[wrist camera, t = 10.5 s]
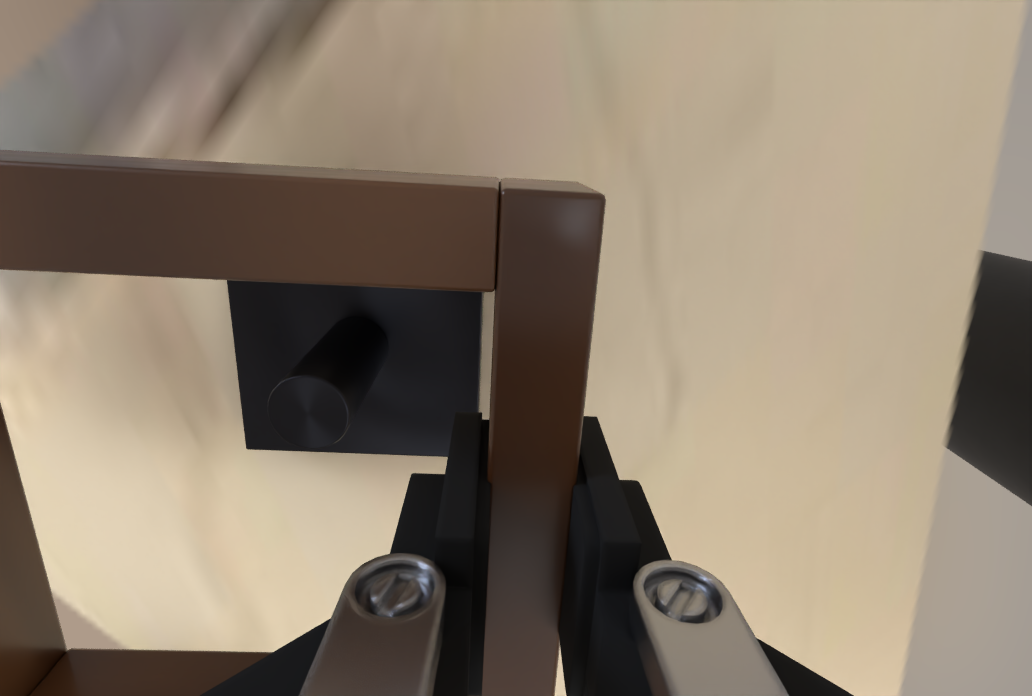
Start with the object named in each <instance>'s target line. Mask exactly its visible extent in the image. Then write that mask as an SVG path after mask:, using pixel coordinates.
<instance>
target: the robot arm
mask: <svg viewBox="0 0 1032 696" xmlns="http://www.w3.org/2000/svg"><path fill="white" fill-rule="evenodd" d="M488 443H489V420H482V413H480V412H455V418H454V424H453V430H452V436H451V442H450V448H449V454H448V460H447V466H446V472H445V474H417V473H413V474H412V475H411V477H410V481H409V484H408V488H407V492H406V496H405V499H404V503H403V507H402V511H401V514H400V518H399V522H398V526H397V529H396V533H395V537H394V540H393V544H392V548H391V552H390V554H388V555H384V556H380V557H376V558H374V559H372V560H370V561H368V562H366V563H364V564H362V565H361V566H360V567H359V568H358V569H357V570H355V571H354V572H353V573H352V574H351V576H350V578H349V579H348V581H347V582H346V584H345V586H344V589H343V591H342V593H341V596H340V598H339V601H338V603H337V605H336V608H335V610H334V613H333V615H332V617H331V619H329V620H327V621H326V622H324V623H322V624H320V625H319V626H317V627H315V628H314V629H312V630H310V631H309V632H307V633H305V634H303V635H302V636H300V637H298V638H297V639H295V640H293V641H292V642H290V643H288V644H286V645H285V646H283V647H281V648H280V649H278V650H276V651H275V652H273V653H271V654H269V655H268V656H266V657H264V658H263V659H261V660H259V661H258V662H256V663H254V664H252V665H251V666H249V667H247V668H246V669H244V670H242V671H241V672H239V673H237V674H235V675H234V676H232V677H230V678H229V679H227V680H225V681H223V682H222V683H220V684H218V685H217V686H215V687H213V688H212V689H210V690H208V691H206V692H205V693H203V694H201V695H200V696H482V683H483V662H484V640H485V618H486V597H487V575H488V553H489V525H490V487H491V483H489V482H488V481H487V468H488ZM559 639H560V647H561V656H562V664H563V672H564V681H565V689H566V695H567V696H853V695H852V694H850V693H848V692H847V691H845V690H843V689H842V688H840V687H838V686H837V685H835V684H833V683H832V682H830V681H828V680H827V679H825V678H823V677H821V676H820V675H818V674H816V673H815V672H813V671H811V670H810V669H808V668H806V667H805V666H803V665H801V664H800V663H798V662H796V661H795V660H793V659H791V658H789V657H788V656H786V655H784V654H783V653H781V652H779V651H778V650H776V649H774V648H773V647H771V646H769V645H768V644H766V643H764V642H763V641H761V640H759V639H757V638H756V637H755V635H754V634H753V632H752V630H751V628H750V627H749V625H748V623H747V622H746V620H745V618H744V616H743V615H742V613H741V611H740V609H739V608H738V606H737V604H736V602H735V601H734V599H733V597H732V595H731V594H730V592H729V591H728V590H727V588H726V587H725V586H724V585H723V583H722V582H721V581H720V580H718V579H717V578H716V577H715V576H713V575H712V574H711V573H709V572H707V571H705V570H703V569H701V568H700V567H698V566H695V565H692V564H689V563H685V562H682V561H673V560H671V557H670V555H669V553H668V550H667V548H666V545H665V543H664V540H663V538H662V536H661V533H660V531H659V528H658V526H657V523H656V521H655V519H654V516H653V514H652V511H651V509H650V506H649V504H648V502H647V499H646V497H645V494H644V492H643V489H642V487H641V485H640V483H639V482H638V481H634V480H619V478H618V475H617V472H616V469H615V466H614V463H613V461H612V458H611V455H610V452H609V449H608V447H607V444H606V441H605V438H604V435H603V432H602V430H601V427H600V424H599V421H598V419H597V417H589V416H583V426H582V435H581V445H580V455H579V464H578V474H577V483H576V485H574V488H573V498H572V508H571V518H570V528H569V538H568V547H567V557H566V567H565V577H564V587H563V597H562V606H561V616H560V626H559Z"/></svg>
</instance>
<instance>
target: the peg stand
mask: <svg viewBox="0 0 1032 696" xmlns="http://www.w3.org/2000/svg"><path fill="white" fill-rule="evenodd" d="M227 285H228V294H229V302H230V311H231V320H232V328H233V337H234V345H235V354H236V363H237V371H238V380H239V389H240V397H241V406H242V415H243V423H244V432H245V441H246V448H247V449H255V450H282V451H308V452H335V453H361V454H388V455H415V456H441V457H448V454H449V448H450V442H451V436H452V430H453V424H454V418H455V412H479V405H480V377H481V350H482V322H483V294H484V292H470V291H449V290H428V289H406V288H385V287H363V286H342V285H321V284H299V283H278V282H257V281H235V280H227Z"/></svg>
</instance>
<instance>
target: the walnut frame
mask: <svg viewBox="0 0 1032 696" xmlns="http://www.w3.org/2000/svg"><path fill="white" fill-rule="evenodd" d="M605 204H606V199H605V196H604V195H603V194H601V193H599V192H597V191H595V190H593V189H591V188H589V187H587V186H585V185H583V184H581V183H579V182H570V181H552V180H534V179H516V178H504V179H501V181H500V182H499V179H498V178H496V177H481V176H463V175H445V174H427V173H408V172H390V171H372V170H354V169H336V168H318V167H300V166H282V165H264V164H246V163H228V162H210V161H191V160H173V159H155V158H137V157H119V156H101V155H83V154H65V153H47V152H29V151H11V150H0V270H21V271H43V272H64V273H85V274H107V275H128V276H150V277H171V278H192V279H214V280H235V281H257V282H278V283H299V284H321V285H342V286H363V287H385V288H406V289H428V290H449V291H470V292H492V291H494V289H495V302H494V325H493V348H492V371H491V394H490V418H489V443H488V468H487V481H488V482H489V483H491V487H490V525H489V553H488V575H487V597H486V618H485V640H484V662H483V683H482V696H554V695H555V686H556V676H557V667H558V657H559V647H560V639H559V626H560V616H561V606H562V597H563V587H564V577H565V567H566V557H567V547H568V538H569V528H570V518H571V508H572V498H573V488H574V485H576V483H577V474H578V464H579V455H580V445H581V435H582V426H583V416H584V406H585V397H586V387H587V378H588V368H589V358H590V349H591V339H592V329H593V320H594V310H595V300H596V291H597V281H598V272H599V262H600V252H601V243H602V233H603V223H604V214H605ZM271 653H273V652H226V651H176V650H126V649H73V648H72V649H69V650H68V651H67V648H66V644H65V640H64V637H63V633H62V629H61V626H60V622H59V618H58V615H57V611H56V607H55V604H54V600H53V596H52V592H51V588H50V585H49V581H48V577H47V574H46V570H45V566H44V563H43V559H42V555H41V551H40V548H39V544H38V540H37V537H36V533H35V529H34V525H33V522H32V518H31V514H30V511H29V507H28V503H27V500H26V496H25V492H24V488H23V485H22V481H21V477H20V474H19V470H18V466H17V462H16V459H15V455H14V451H13V448H12V444H11V440H10V437H9V433H8V429H7V425H6V422H5V418H4V414H3V411H2V407H1V403H0V696H200V695H201V694H203V693H205V692H206V691H208V690H210V689H212V688H213V687H215V686H217V685H218V684H220V683H222V682H223V681H225V680H227V679H229V678H230V677H232V676H234V675H235V674H237V673H239V672H241V671H242V670H244V669H246V668H247V667H249V666H251V665H252V664H254V663H256V662H258V661H259V660H261V659H263V658H264V657H266V656H268V655H269V654H271Z"/></svg>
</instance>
